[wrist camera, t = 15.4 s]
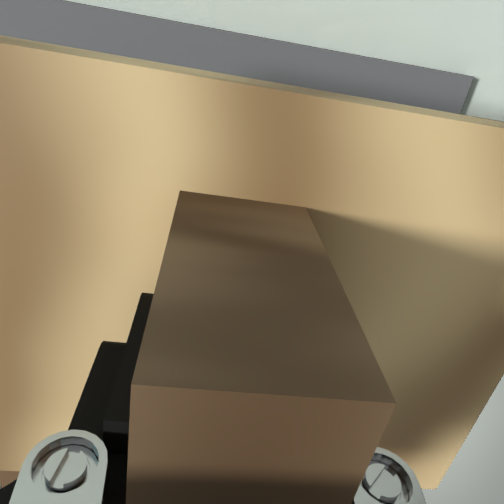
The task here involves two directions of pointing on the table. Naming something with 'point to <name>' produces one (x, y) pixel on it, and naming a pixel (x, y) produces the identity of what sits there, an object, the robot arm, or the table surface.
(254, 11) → the table surface
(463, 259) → the lid
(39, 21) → the mat
